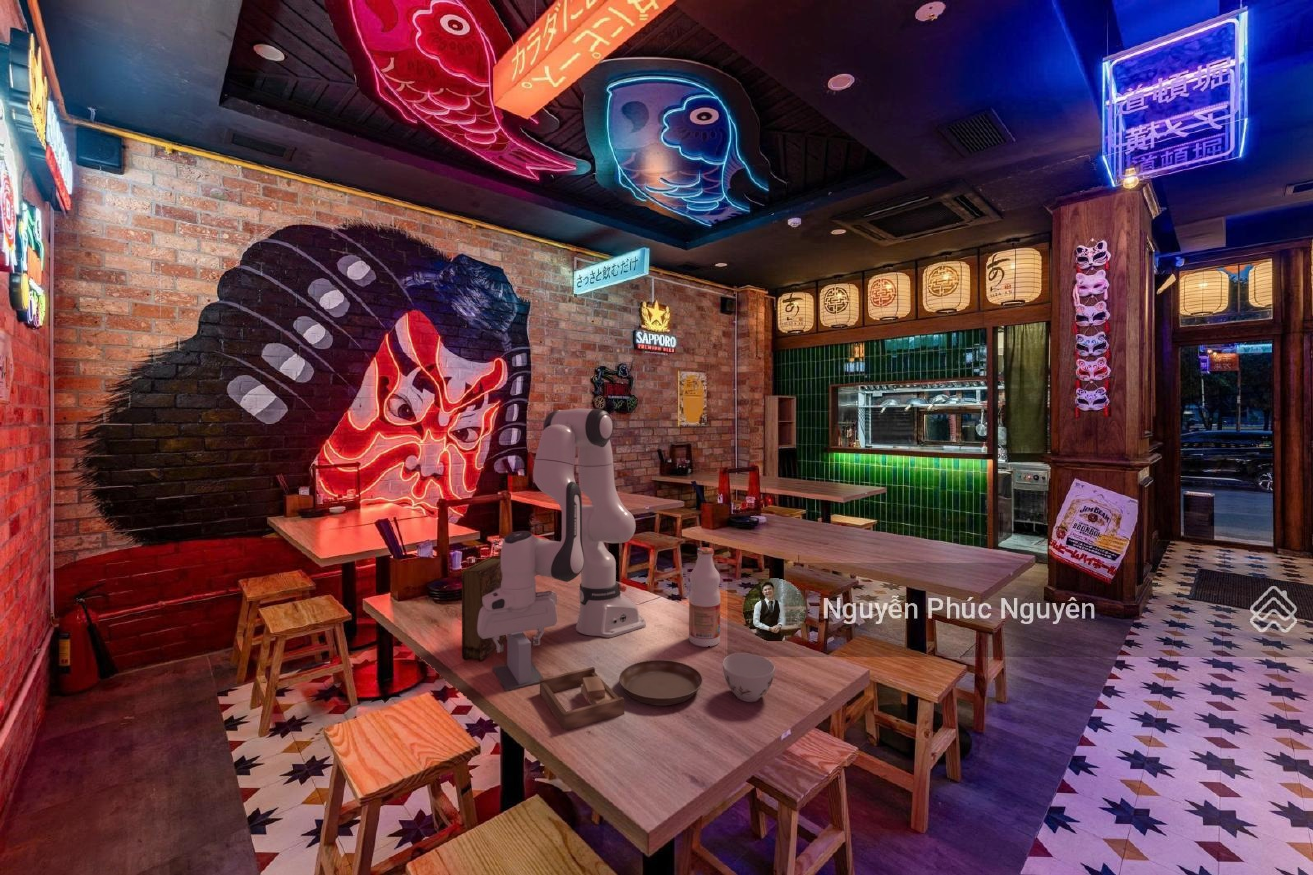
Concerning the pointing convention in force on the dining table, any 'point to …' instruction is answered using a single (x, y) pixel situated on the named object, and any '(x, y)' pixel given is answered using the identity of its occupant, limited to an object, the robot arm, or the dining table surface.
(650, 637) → the dining table surface
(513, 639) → the block
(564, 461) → the robot arm
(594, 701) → the block
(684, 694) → the plant saucer
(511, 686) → the mat
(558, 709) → the brown open frame piece
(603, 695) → the offcut short
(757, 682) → the teacup
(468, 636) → the book
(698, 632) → the fruit juice
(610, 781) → the dining table surface
